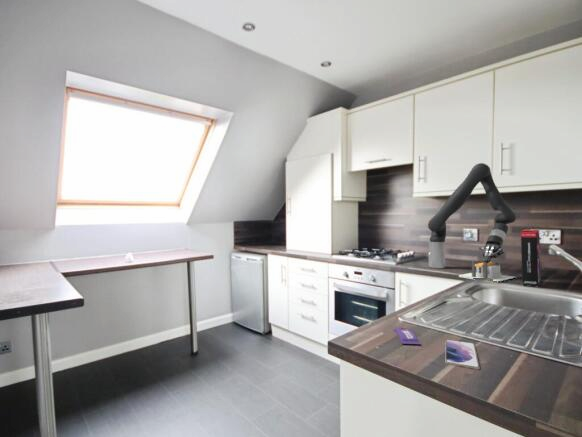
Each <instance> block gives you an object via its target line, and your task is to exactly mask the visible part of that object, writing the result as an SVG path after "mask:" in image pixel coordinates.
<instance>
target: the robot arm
mask: <svg viewBox="0 0 582 437" xmlns="http://www.w3.org/2000/svg"><path fill="white" fill-rule="evenodd" d="M494 181H495V180H494V179H493V175H492V171H491V167H490V166H489V164H486V163H483V162H480V163H476V164H475V165H474V166H473V167H472V169H471V170H470V171H469V173H468V175H467V176H466V177H465V178H464V180H463V181H462V182H461V184H459V185H458V187H457V188H455V189H454V191H453V192H452V193H451V195H450V196H449V197H448V198H447V200H446V201H445V202H444V204H443V205H442V206H441V208H440V209H439V210H438V211H437V213H436V214H435V215H434V216H433V217H431V219H430V220H429V221H428V224H427V228H428V229H429V231H431V235H430V237H429V252H428V267H429V268H432V269H445V268H446V243H445V242H446V237H447V223H446V222H447V221H448V219H449V218H450V217H451V216H453V215H454V214H455V213H456V212H457V211H458V210H460V209H461V208H462V207H463V205H465V203H466V202H467V201H468V199H469V198H470V196H471V195H472V193H473V191H474V189H475V187H477V186H478V185H479V183H480V184H481V185H482V187H483V189H484V192H485V194H486V197H487V200H488V202H489V204H490V206H491V209H492V210H493V211H500V212H501V213H499V214H497V215H495V217H494V220H493V221H494V222H493V228H492V230H491V232H490V233H489V235H488V238H487V240H486V242H485V245H483V246H482V247H478V250H479V251H480V253H481V255H482V257H483V259H482V261H483V263H484V262H487V263H489V262H491V260H492V259H497V258H498V257H499V256H501V255H503V254H504V253H505V251H504V249H503V248H502V246H503V244H504V241H505V239H506V235H507V233H508V230H509V227H508V224H513V223H515V222H516V220H517V216H516V213H515V212H514V211H513V210H512V209H511V207H509V206H508V205H507V204H506V201H505V199H504V198H503V196H502V194H501V192H500V190H499V189H498V187H497V185H496V184H495V182H494Z"/></svg>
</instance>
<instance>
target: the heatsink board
mask: <svg viewBox="0 0 582 437" xmlns="http://www.w3.org/2000/svg"><path fill="white" fill-rule="evenodd" d="M495 262H496V265H492V266H487V262H484V261H483V262H482V263H483V267H477V266H475V264H477V261H474V260H472V261H471V272H469V273H467V272H466V273H463V274H459V275H458V277H459V278H464V279H470V280H474V279H473V278H491V279H493V281H497V282H498V281H503V280H508V279H513V278H516V279H517V277H516V276H512V275H506V274H505V275H504V274H502V273H501V262H500V261H495ZM513 280H514V279H513ZM508 281H509V280H508Z"/></svg>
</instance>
